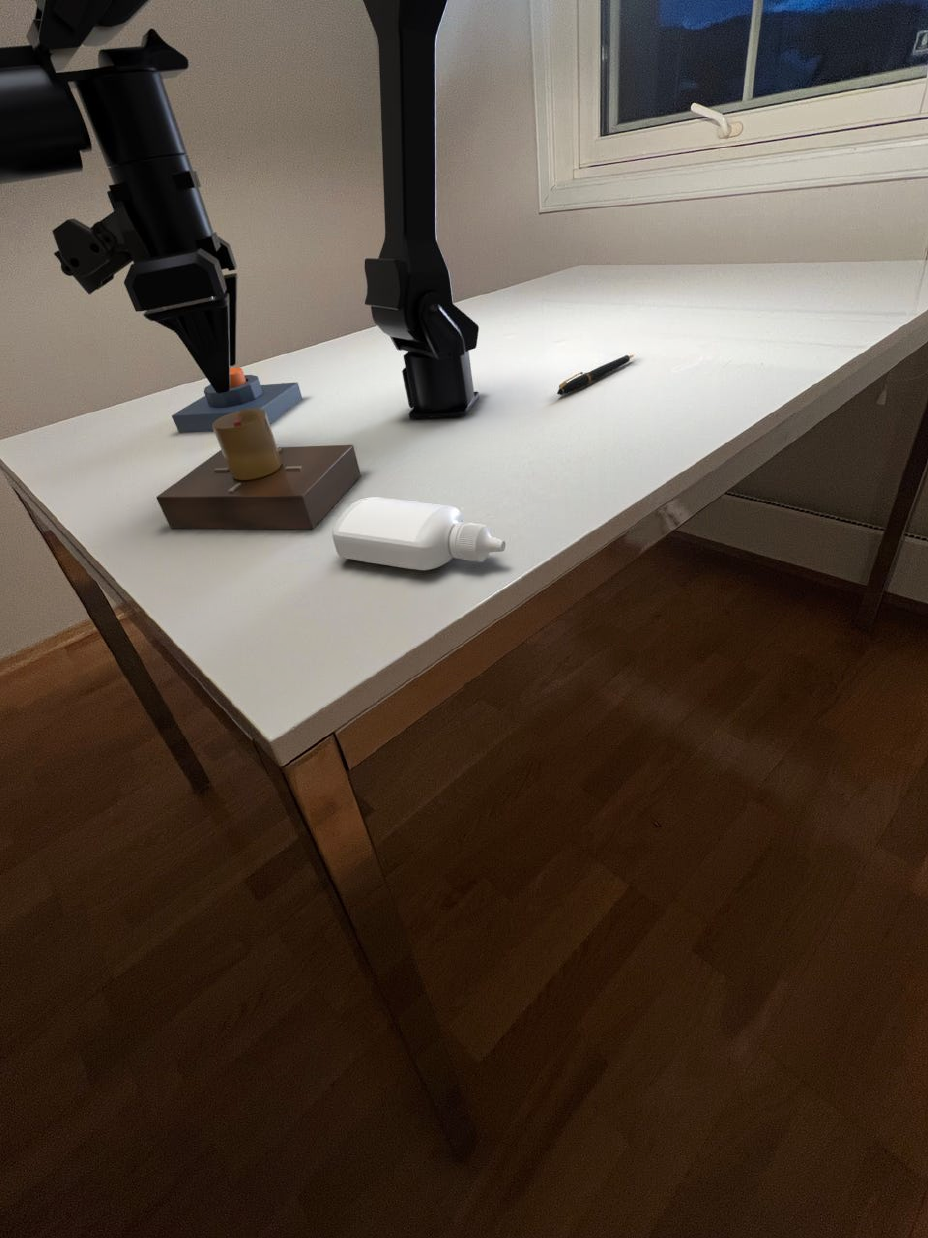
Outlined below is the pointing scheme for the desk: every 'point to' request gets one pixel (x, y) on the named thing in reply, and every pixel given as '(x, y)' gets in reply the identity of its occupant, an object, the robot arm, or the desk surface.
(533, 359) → the desk surface
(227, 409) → the button box
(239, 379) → the orange button
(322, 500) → the knob plate
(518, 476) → the desk surface
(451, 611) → the desk surface
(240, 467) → the brass knob
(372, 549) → the eye dropper bottle
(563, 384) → the fountain pen
